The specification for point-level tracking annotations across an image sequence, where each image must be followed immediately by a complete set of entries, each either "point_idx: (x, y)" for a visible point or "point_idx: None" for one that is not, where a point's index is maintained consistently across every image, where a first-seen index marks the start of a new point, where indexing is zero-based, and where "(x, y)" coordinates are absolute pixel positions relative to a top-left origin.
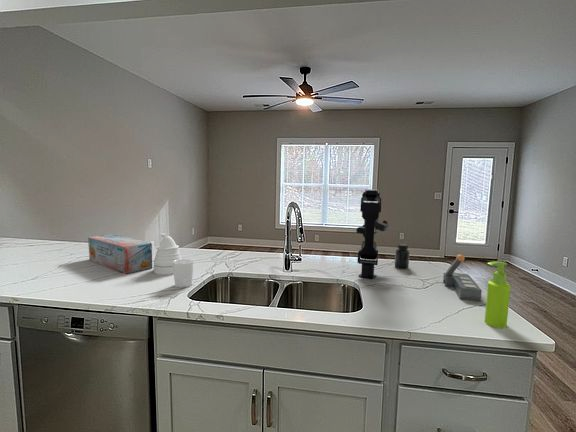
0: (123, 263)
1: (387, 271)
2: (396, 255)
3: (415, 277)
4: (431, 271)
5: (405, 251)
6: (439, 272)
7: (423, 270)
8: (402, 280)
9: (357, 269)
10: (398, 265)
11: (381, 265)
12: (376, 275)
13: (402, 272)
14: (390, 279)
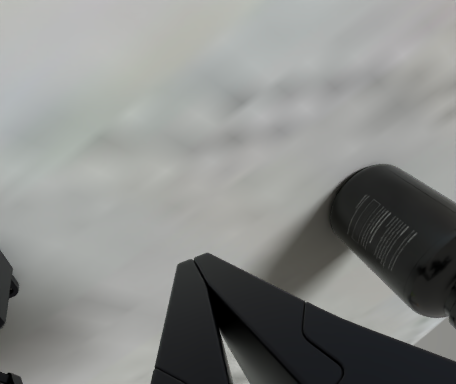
0: None
1: (210, 226)
2: (400, 244)
3: (226, 351)
4: (380, 302)
5: (434, 317)
6: (383, 321)
7: (376, 281)
8: (113, 375)
9: (10, 51)
10: (340, 222)
11: (332, 91)
12: (12, 295)
13: (264, 273)
14: (60, 353)
